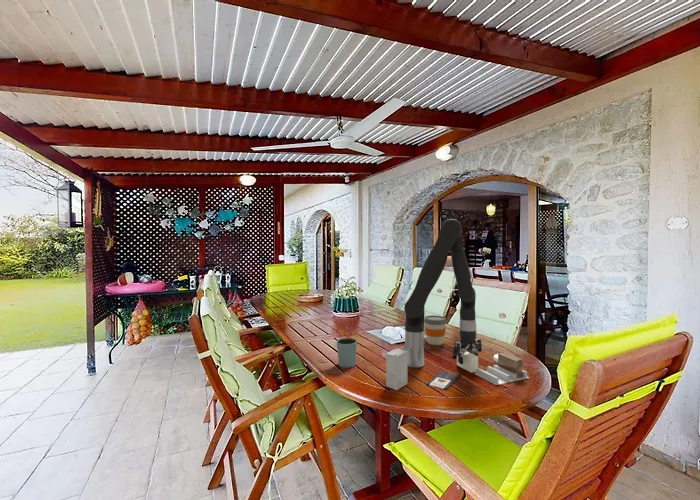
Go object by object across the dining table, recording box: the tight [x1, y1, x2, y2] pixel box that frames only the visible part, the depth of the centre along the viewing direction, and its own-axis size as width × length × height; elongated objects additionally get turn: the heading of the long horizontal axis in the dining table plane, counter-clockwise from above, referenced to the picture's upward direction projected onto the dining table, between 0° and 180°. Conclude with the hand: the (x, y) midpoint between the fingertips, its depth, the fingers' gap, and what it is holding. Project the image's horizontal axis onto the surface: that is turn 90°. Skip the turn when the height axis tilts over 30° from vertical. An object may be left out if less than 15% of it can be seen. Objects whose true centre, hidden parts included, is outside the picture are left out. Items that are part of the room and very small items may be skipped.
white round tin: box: [493, 353, 499, 364], centre depth 173 cm, size 10×10×4 cm
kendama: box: [452, 344, 476, 357], centre depth 185 cm, size 6×10×20 cm
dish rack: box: [474, 364, 530, 386], centre depth 156 cm, size 19×13×4 cm
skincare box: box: [385, 347, 408, 391], centre depth 149 cm, size 8×6×15 cm
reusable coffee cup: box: [424, 315, 447, 346], centre depth 207 cm, size 12×13×15 cm
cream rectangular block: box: [456, 351, 479, 373], centre depth 165 cm, size 4×10×8 cm, turn 22°
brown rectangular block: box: [497, 352, 523, 379], centre depth 158 cm, size 4×10×8 cm, turn 22°
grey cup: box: [336, 337, 358, 369], centre depth 173 cm, size 10×10×12 cm
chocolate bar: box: [426, 370, 461, 391], centre depth 154 cm, size 9×1×18 cm
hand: (468, 362), depth 165 cm, fingers open, 8 cm apart
